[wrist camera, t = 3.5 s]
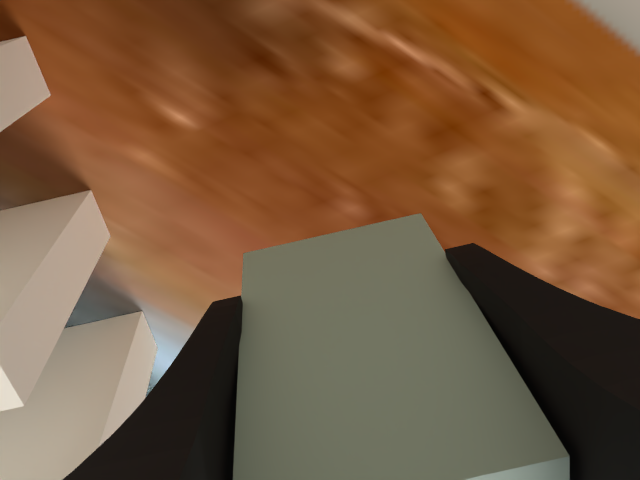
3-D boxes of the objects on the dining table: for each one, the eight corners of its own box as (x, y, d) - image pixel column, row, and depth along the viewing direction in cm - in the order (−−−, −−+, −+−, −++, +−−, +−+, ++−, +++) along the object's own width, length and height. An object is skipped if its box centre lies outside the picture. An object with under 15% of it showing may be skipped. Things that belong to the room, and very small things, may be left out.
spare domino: (428, 269, 15) (569, 535, 8) (260, 307, 15) (261, 604, 8) (420, 213, 14) (569, 455, 7) (243, 253, 14) (230, 531, 7)
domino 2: (157, 347, 20) (107, 546, 13) (35, 375, 20) (-75, 586, 14) (142, 311, 19) (80, 502, 13) (15, 339, 19) (-112, 545, 13)
